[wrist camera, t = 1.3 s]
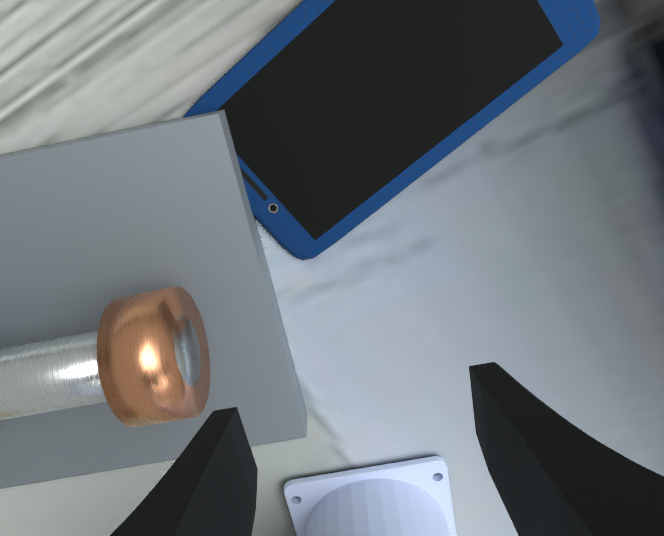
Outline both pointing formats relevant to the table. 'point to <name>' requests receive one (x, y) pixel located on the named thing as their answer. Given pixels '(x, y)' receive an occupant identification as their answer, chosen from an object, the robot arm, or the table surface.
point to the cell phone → (378, 99)
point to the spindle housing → (139, 284)
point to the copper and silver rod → (117, 364)
